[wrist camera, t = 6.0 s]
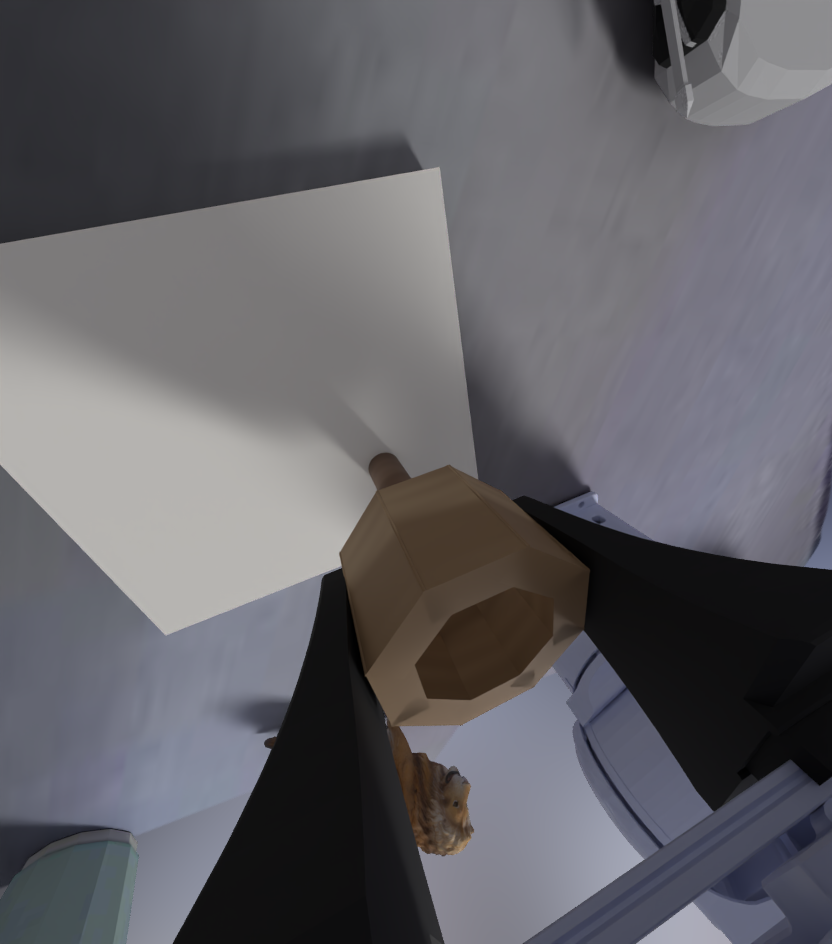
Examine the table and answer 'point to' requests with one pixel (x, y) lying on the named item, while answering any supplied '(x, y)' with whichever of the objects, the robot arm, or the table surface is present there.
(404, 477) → the rod
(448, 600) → the oak bead
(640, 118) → the table surface
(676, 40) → the robot toy
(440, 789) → the lion figurine
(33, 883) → the disposable coffee cup
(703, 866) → the robot arm
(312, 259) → the white flat rectangular panel
